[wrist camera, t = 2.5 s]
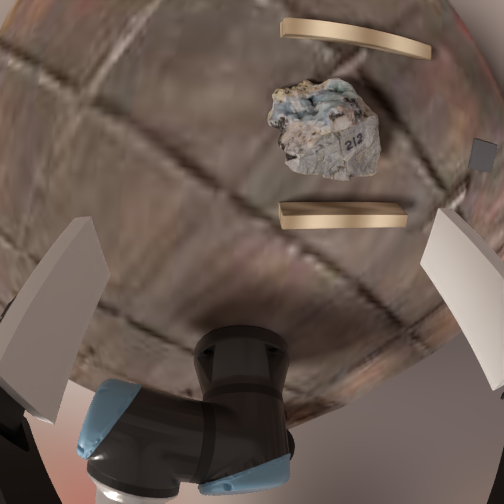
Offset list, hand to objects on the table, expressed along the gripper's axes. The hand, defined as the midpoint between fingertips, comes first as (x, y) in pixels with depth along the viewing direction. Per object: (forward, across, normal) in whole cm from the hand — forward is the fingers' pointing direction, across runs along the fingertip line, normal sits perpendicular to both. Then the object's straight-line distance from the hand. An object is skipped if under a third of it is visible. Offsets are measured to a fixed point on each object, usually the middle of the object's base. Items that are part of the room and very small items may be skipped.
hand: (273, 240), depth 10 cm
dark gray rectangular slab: (+19, +30, 0) cm, 35 cm away
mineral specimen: (+20, +7, 0) cm, 21 cm away
